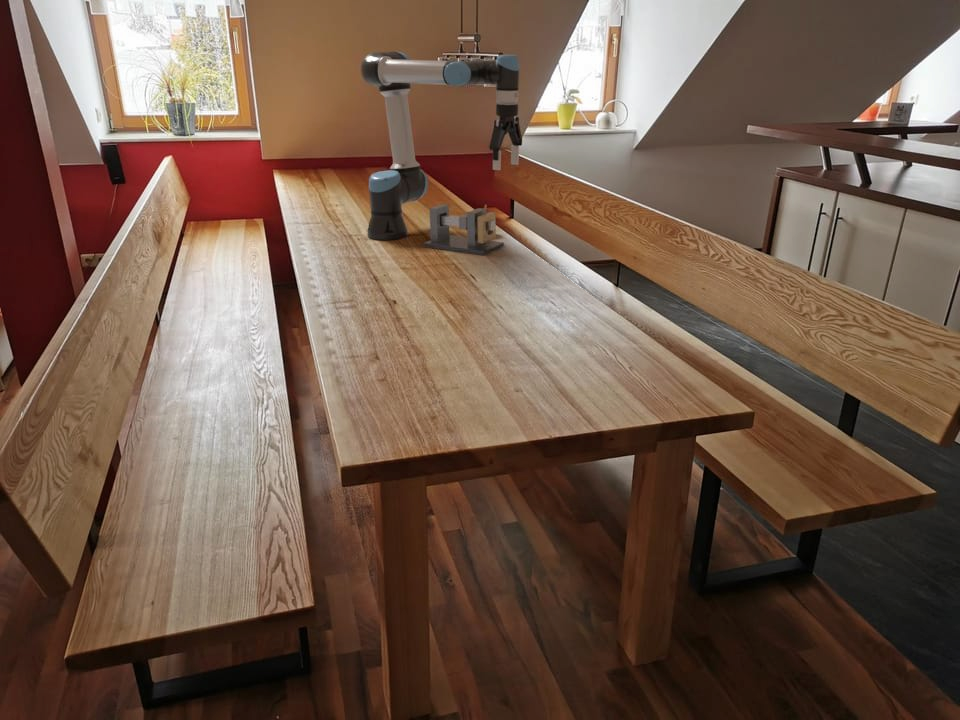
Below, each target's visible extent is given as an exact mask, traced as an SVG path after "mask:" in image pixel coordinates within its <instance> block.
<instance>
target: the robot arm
mask: <svg viewBox="0 0 960 720" xmlns="http://www.w3.org/2000/svg"><path fill="white" fill-rule="evenodd" d="M360 75H361V77H362V79H363V80H364V82H365V83H367V84H368V85H370V86H371V87H375V88H378V89H379V94H380V95H382V96H383V97H384V104H385V110H386V111H385V112H386V119H387V125H388V133H389V142H390V148H391V155H392V156H391V157H392V165H391V166H390V167H389V169H388V170H383V171H377V172H373V173H372V174H371V175H370V176H369V178H368V191H369V192H368V193H369V207H370V219H369V223H368V227H367V229H366V230H367V231H366V232H367V237H368V238H369V239H372V240H380V241H384V240H385V241H386V240H387V241H388V240H389V241H391V240H398V239H402V238H405V237H407V236H408V227H407V225H406V222H405V220H404V216H403V207H402V205H403V204H407V203H411V202H415V201H418V200H419V199H421V198H423V196H425V194H426V193H427V191H428V187H429V180H428V177H427V174H426V173H425V172H424V170H422V169H421V164H420V163H419V162H418V161H417V160H416V155H415V146H414V145H415V144H414V137H413V130H412V121H411V114H410V106H409V99H408V98H409V97H408V94H409V93H410V91H411V84H419V85H441V86H442V85H443V86H452V87H464V86H472V85H473V86H475V85H495V86H496V87H495V88H496V89H495V90H496V91H495V92H496V96H495V97H496V98H495V102H496V105H495V116H498V117H499V119H494V121H493V123H494V124H493V130H492V133H491V139H490V143H489V146H488V148H489V151H492V170H494V171H501V170H502V168H501V166H502V165H501V164H502V150H500V149H501V147H502V144H503V143H504V142H503V141H504V139H505V137H506V135H507V134H508V136H509V139H510V141H511V144H512V145H510V165H514V166H519V164H520V163H519V160H520V159H519V156H520V155H519V154H520V146H522V145H523V137H522V132H521V127H520V118H519V116H518V115H519V105H518V102H519V97H520V94H519V84H520V83H519V80H520V77H519V76H520V59H519V56H518V55H516V54H498V55H496V60H485V59H484V60H481V59H473V60H467V61H466V60H462V61H459V60H428V59H427V60H424V59H423V60H422V59H411V58H410V57H409V56H408V55H407V54H405V53H404V52H399V51H382V52H380V51H377V52H375V51H374V52H371V53H369V54H367V55H366V56H365V57H364V58H363V59H362V61H361V64H360Z"/></svg>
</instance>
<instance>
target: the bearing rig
mask: <svg viewBox="0 0 960 720" xmlns="http://www.w3.org/2000/svg"><path fill="white" fill-rule="evenodd" d="M440 214H445V215H450V205H449V204H445V203H441V204H438V205H435V206H432V207H429V223H430V224H429V228H430V240H428V241H425V242H423V248H429V249H434V250H435V249H436V250H444V251H449V252H456V253H463V254H464V253H465V254H469V255H478V256H487V255H489V254H491V253H493V252H495V251H497V250H500V249H502V248H504V247H505V242H502V241H495V240H489V241H487V242H485V243H478V229H477V219H478V217H479V216H481V215H484V214H487V208H486V209H485V208H480V207H478V208H475V209H473V210H471V211H468V212H466V215H467V230H466V231H467V235H466V236H458V235H450V225H442V224H440ZM503 246H504V247H503ZM501 247H502V248H501Z"/></svg>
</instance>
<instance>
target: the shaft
mask: <svg viewBox="0 0 960 720" xmlns="http://www.w3.org/2000/svg"><path fill="white" fill-rule="evenodd" d="M440 224H442V225H449V227H450V226H451V227H452V226H453V227H458V230H463V231H467V213H466V214H462V215H460V216H459V215H452V214H449V215H445V214H440ZM477 229H478V219H477ZM494 229H495V220H490V221H487V222H486V230H490V231H491V230H494Z"/></svg>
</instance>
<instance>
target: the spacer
mask: <svg viewBox="0 0 960 720" xmlns="http://www.w3.org/2000/svg"><path fill="white" fill-rule="evenodd" d="M490 220H495V229H494V230H491V231H490V230H488V233H486V222H487V221H490ZM496 225H497V223H496V212H495V211H494V212H493V211H489V212H486V214H484V215H481V216H479V217H478V243H485V242H487V241H493V240H494V239H496V237H497V236H496V235H497V234H496V232H497V231H496V228H497V227H496Z"/></svg>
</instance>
